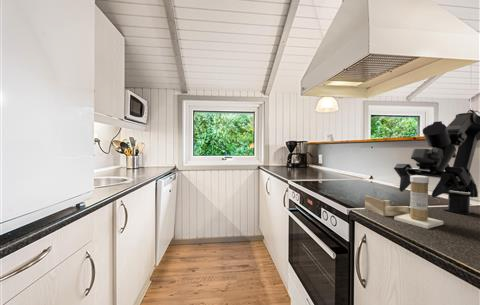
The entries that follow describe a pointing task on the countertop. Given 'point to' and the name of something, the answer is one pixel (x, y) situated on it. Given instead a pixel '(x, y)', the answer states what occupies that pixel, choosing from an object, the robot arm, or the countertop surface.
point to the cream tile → (419, 221)
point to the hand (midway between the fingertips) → (415, 193)
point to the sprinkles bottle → (419, 197)
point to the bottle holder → (384, 207)
